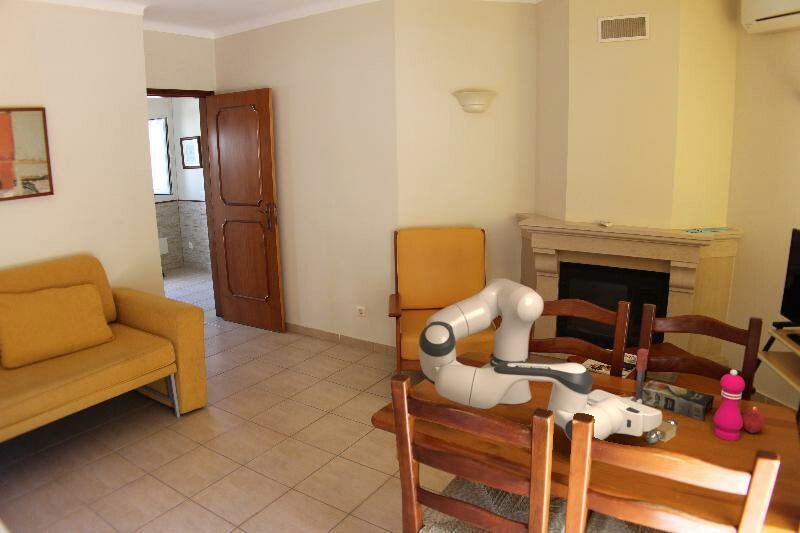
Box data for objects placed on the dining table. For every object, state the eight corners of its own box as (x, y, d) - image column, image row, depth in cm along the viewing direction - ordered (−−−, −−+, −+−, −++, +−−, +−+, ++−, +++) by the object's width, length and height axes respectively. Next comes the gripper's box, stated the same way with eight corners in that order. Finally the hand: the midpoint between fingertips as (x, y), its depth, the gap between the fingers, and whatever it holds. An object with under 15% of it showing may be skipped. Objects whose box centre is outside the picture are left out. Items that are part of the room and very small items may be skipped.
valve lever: (631, 424, 169) (637, 350, 164) (635, 421, 171) (641, 348, 166) (638, 426, 168) (644, 351, 163) (642, 424, 169) (648, 350, 164)
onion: (763, 439, 161) (766, 413, 159) (739, 434, 164) (742, 408, 162) (763, 431, 165) (766, 405, 164) (740, 426, 168) (743, 401, 167)
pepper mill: (745, 442, 159) (753, 375, 155) (717, 440, 160) (724, 373, 156) (735, 430, 166) (743, 365, 162) (708, 428, 167) (715, 364, 163)
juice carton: (636, 403, 185) (638, 385, 183) (647, 394, 192) (649, 376, 191) (703, 423, 171) (705, 404, 170) (712, 412, 178) (715, 394, 177)
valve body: (628, 435, 164) (629, 425, 163) (652, 420, 173) (653, 411, 172) (658, 447, 157) (659, 437, 157) (682, 431, 166) (683, 421, 165)
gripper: (577, 412, 164) (603, 398, 172) (645, 439, 148) (670, 423, 157) (578, 391, 163) (605, 379, 171) (647, 416, 147) (672, 401, 156)
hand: (637, 400), depth 164 cm, fingers closed
